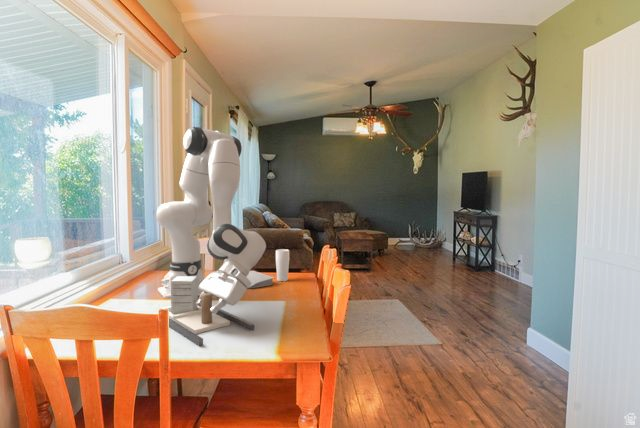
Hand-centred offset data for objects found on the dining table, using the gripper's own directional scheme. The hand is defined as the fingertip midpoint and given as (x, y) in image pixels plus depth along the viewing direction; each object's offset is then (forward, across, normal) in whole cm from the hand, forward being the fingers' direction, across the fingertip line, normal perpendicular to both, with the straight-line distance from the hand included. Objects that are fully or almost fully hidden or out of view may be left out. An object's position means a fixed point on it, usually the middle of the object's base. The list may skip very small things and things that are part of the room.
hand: (204, 308), depth 118 cm
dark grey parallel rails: (+4, 0, +5) cm, 6 cm away
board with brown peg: (+4, -9, +4) cm, 11 cm away
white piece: (-36, -33, +45) cm, 67 cm away
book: (-27, -39, +36) cm, 59 cm away
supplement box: (+4, -16, +5) cm, 17 cm away
